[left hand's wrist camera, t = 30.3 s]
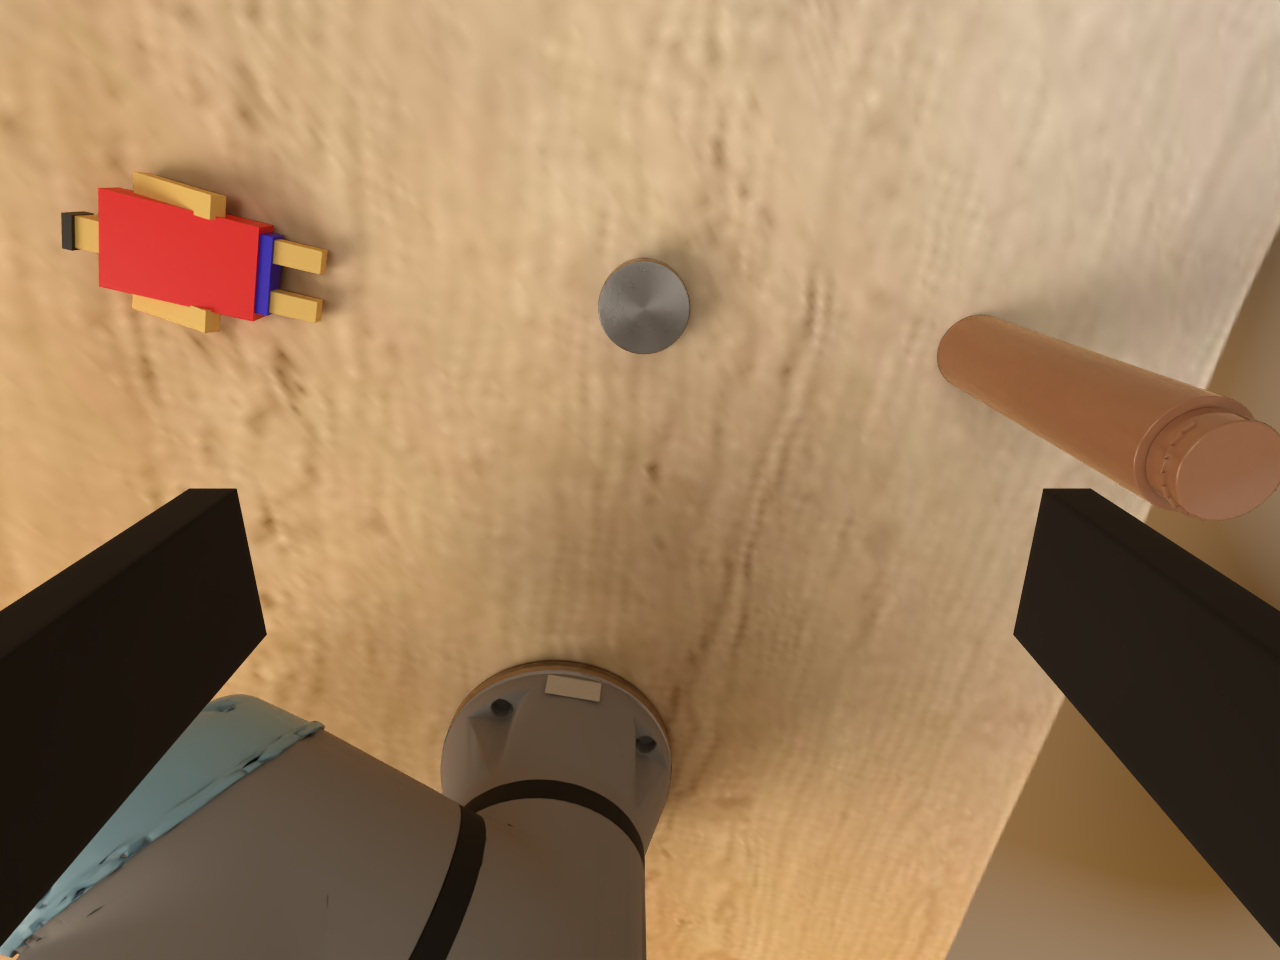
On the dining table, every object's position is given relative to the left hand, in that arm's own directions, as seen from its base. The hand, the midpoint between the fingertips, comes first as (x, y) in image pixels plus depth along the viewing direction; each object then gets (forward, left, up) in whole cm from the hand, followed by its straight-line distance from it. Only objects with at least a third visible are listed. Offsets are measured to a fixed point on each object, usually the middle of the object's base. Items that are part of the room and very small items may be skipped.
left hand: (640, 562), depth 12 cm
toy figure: (-4, +22, -30) cm, 38 cm away
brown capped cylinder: (+3, -18, -30) cm, 35 cm away
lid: (0, 0, -28) cm, 28 cm away
